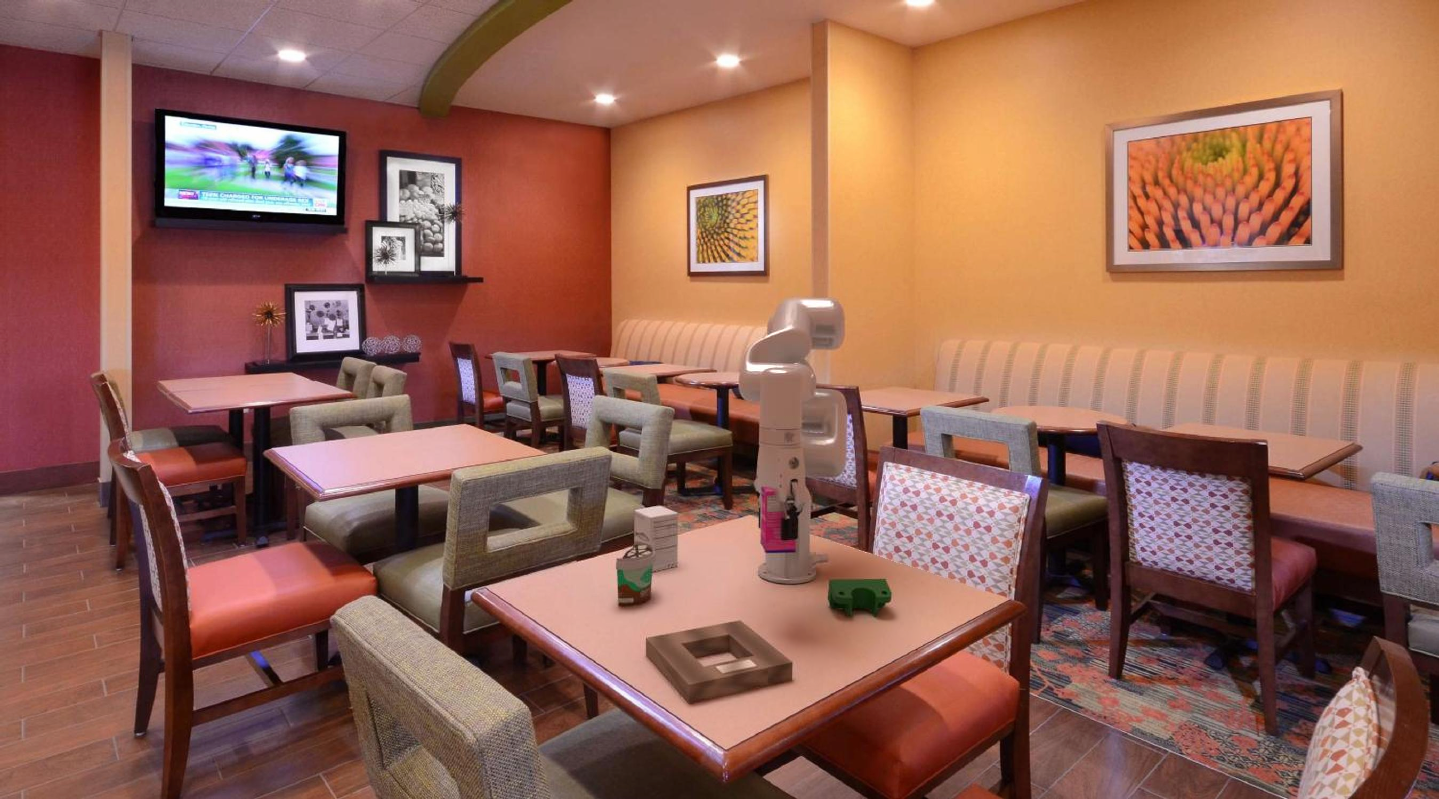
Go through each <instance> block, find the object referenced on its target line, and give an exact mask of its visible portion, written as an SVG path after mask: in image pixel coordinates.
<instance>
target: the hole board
mask: <svg viewBox="0 0 1439 799" xmlns="http://www.w3.org/2000/svg"><path fill="white" fill-rule="evenodd" d="M727 652H729V653H731V654H732V655H733V656H734V657H735V658H736V659H732V660H728V661H724V662H719V663H714V664H708V665H703V664H702V663H701V662H700V661H699V660H698V659H697V658H700V657H707V656H711V655H715V654H720V653H727ZM645 655H646V657H647V658H648V659H649V660H650V661H651V662H652V663H653V665H654V666H655V667H656V668H657V669H658V670H659V671H660V673H661V674H662V675H663V676H664V677H665V678H666V680H668V682H669V683H670V684H671V685H672V686H673V687H674V688H675V690H676V691H677V692H678V693H679V694H680V696H682V698H683V699H684V700H685V702H687V704H689V705H690V704H693V703H698V702H702V701H707V700H710V699H711V700H712V699H715V698H720V697H724V696H728V695H733V694H737V693H741V692H742V693H743V692H746V691H750V690H753V689H759V688H764V687H767V686H771V685H777V684H780V683H786V682H789V681H792V680H793V664H794V663H793V661H792V660H790V659H789V658H788V657H787V656H786V655H784V654H783V653H782V652H781V651H780V650H778V649H777V648H776V647H774V646H773V645H772V644H771V643H769V642H768V641H767V640H766V639H764V638H763V637H762V636H761V635H759V634H758V633H757V632H756V631H754V630H753V629H752V627H750V626H749V625H747V624H746V623H745V622H743V621H742V620H740V619H739V620H734V621H730V622H729V621H728V622H724V623H719V624H712V625H708V626H703V627H702V626H701V627H697V628H692V629H687V630H680V631H677V632H676V631H675V632H670V633H666V634H665V633H664V634H658V635H654V636H649V637H645Z"/></svg>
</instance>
